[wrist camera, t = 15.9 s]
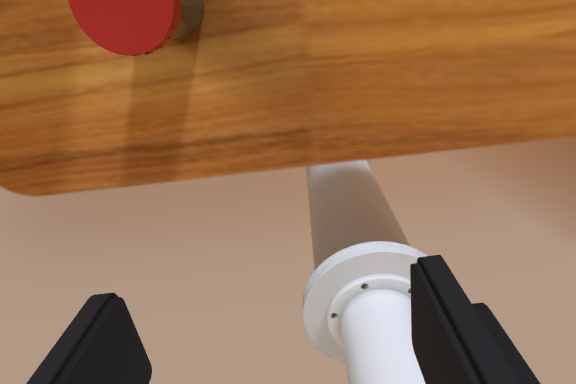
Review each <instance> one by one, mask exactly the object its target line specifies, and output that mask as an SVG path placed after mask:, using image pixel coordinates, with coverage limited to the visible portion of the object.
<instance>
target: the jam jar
mask: <svg viewBox="0 0 576 384" xmlns="http://www.w3.org/2000/svg"><path fill="white" fill-rule="evenodd" d="M181 14H182V15H181V17H180V22H179V25H178V27H179V28H178V29H177V30H176V32H175V34H174V35H173V37H172V39H171V40H176V39H182V38H185V37H188V36H190V35H191V34H193V33H194V32H195V31H196V30H197V29H198V27H199V26H200V24H201V21H202V18H203V14H204V4H203V0H182V1H181ZM169 41H170V40H169Z"/></svg>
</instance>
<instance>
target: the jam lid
mask: <svg viewBox="0 0 576 384" xmlns="http://www.w3.org/2000/svg"><path fill="white" fill-rule="evenodd" d="M68 1H69V4H70V8H71V10H72V13H73V15H74V17H75V19H76V21H77V23H78V24H79V26H80V27H81V28H82V30H83V31H84V32H85V33H86V35H87V36H88V37H90V38H91V39H92V40H93V41H94V42H95V43H97V44H98V45H99V46H101V47H103V48H104V49H106V50H108V51H111V52H113V53H117V54H121V55H133V56H137V55H141V54H143V53H145V54H149V53H153V51H155V50H157V49H159V48H163V47H164V45H165V44H166V43H167V42H168V41H169V40H171V39H172V37H173V35H174V34H175V32H176V30H177V29H178V28H179V27H178V25H179V22H180V17H181V15H182V14H181V1H182V0H68Z"/></svg>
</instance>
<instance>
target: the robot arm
mask: <svg viewBox="0 0 576 384" xmlns="http://www.w3.org/2000/svg"><path fill="white" fill-rule="evenodd" d="M327 325H328V329H329V332H330V334H331V336H332V338H333V339H334V341H335V342H336V343H337V344H338V345H339V346H341V347H342V348H343V349H344V353H345V359H346V366H347V372H348V379H349V384H540V383H539V381H538V380H537V378H536V377H535V375H534V374H533V372H532V371H531V369H530V368H529V366H528V365H527V363H526V362H525V360H524V359H523V357H522V356H521V355H520V353H519V352H518V350H517V349H516V347H515V346H514V344H513V343H512V341H511V340H510V338H509V337H508V335H507V334H506V333H505V331H504V329H503V328H502V327H501V325H500V324H499V322H498V321H497V319H496V318H495V316H494V315H493V314H492V312H491V310H490V309H489V308H488V307H487V305H485V304H484V303H476V304H471V302H470V301H469V299H468V297H467V296H466V294H465V293H464V291H463V289H462V288H461V286H460V285H459V283H458V282H457V280H456V278H455V277H454V275H453V274H452V272H451V270H450V269H449V267H448V266H447V264H446V262H445V261H444V259H443V258H442V256H441V255H435V256H426V257H418V259H417V263H414V264H411V265H410V280H409V279H408V278H405V277H402V276H399V275H394V274H387V273H378V274H370V275H366V276H362V277H359V278H357V279H355V280H353V281H350V282H349V283H347V284H346V285H344V286H343V287H342V288H341V289H340V290H339V291H338V292H337V293H336V294H335V295H334V296H333V298H332V299H331V301H330V304H329V306H328V309H327ZM151 374H152V367H151V363H150V361H149V359H148V357H147V354H146V352H145V349H144V347H143V344H142V342H141V340H140V337H139V335H138V332H137V330H136V328H135V325H134V323H133V321H132V318H131V316H130V313H129V311H128V309H127V306H126V304H125V301H124V300H123V299H122V298H121V297H118V296H117V295H116V294H115V293H106V294H97V295H93V296H91V297H90V298H89V299H88V300H87V302H86V303H85V304H84V306H83V307H82V308H81V310H80V311H79V313H78V314H77V315H76V317H75V318H74V319H73V321H72V322H71V323H70V325H69V326H68V328H67V329H66V330H65V332H64V333H63V334H62V336H61V337H60V338H59V340H58V341H57V343H56V344H55V345H54V347H53V348H52V349H51V351H50V352H49V354H48V355H47V356H46V358H45V359H44V360H43V362H42V363H41V364H40V366H39V367H38V369H37V370H36V371H35V373H34V374H33V375H32V377H31V378H30V379H29V381H28V382H27V384H149V381H150V379H151Z"/></svg>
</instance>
